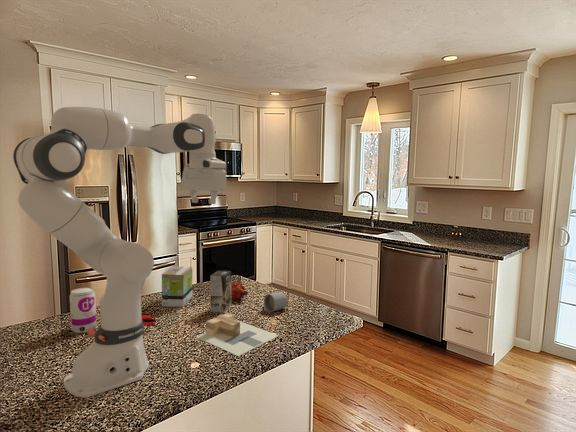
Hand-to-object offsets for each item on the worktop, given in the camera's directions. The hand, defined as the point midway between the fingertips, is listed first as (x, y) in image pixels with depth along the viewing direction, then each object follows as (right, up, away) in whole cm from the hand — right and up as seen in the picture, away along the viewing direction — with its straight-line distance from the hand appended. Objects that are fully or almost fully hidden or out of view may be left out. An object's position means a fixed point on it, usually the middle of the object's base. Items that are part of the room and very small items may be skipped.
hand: (203, 203), depth 130 cm
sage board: (+11, -48, +4) cm, 49 cm away
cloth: (-32, -47, +21) cm, 61 cm away
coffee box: (+1, -45, +32) cm, 55 cm away
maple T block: (+7, -47, +7) cm, 48 cm away
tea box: (-21, -44, +42) cm, 64 cm away
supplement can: (-47, -47, +10) cm, 67 cm away
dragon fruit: (+6, -44, +46) cm, 63 cm away
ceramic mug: (+23, -45, +33) cm, 60 cm away
